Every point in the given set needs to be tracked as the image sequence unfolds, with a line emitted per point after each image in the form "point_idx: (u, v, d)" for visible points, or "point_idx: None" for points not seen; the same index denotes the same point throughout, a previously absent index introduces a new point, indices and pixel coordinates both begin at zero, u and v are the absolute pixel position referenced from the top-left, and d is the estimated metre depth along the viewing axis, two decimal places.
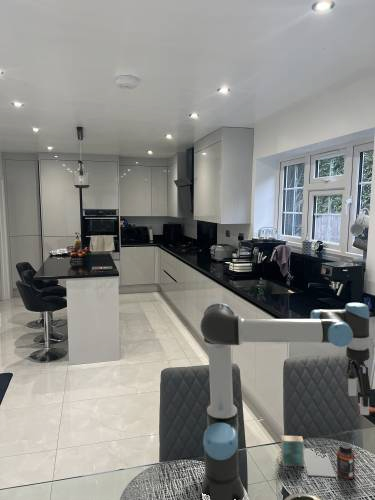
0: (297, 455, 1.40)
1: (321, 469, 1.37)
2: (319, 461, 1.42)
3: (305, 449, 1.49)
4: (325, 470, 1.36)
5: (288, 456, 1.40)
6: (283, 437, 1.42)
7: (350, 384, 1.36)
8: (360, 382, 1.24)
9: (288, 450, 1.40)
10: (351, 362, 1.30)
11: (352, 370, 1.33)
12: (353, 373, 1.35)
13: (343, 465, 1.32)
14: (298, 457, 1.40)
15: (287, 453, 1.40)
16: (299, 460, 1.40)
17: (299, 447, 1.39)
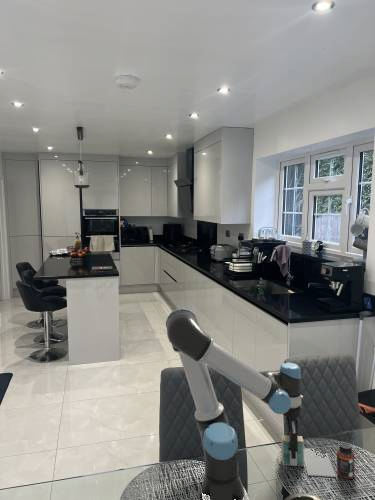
0: (297, 454, 1.40)
1: (321, 469, 1.37)
2: (319, 461, 1.42)
3: (305, 449, 1.49)
4: (325, 470, 1.36)
5: (288, 456, 1.40)
6: (283, 437, 1.42)
7: None
8: None
9: (288, 450, 1.40)
10: (286, 416, 1.42)
11: (289, 428, 1.43)
12: None
13: (343, 465, 1.32)
14: (298, 457, 1.40)
15: (287, 453, 1.40)
16: (299, 460, 1.40)
17: (299, 447, 1.39)
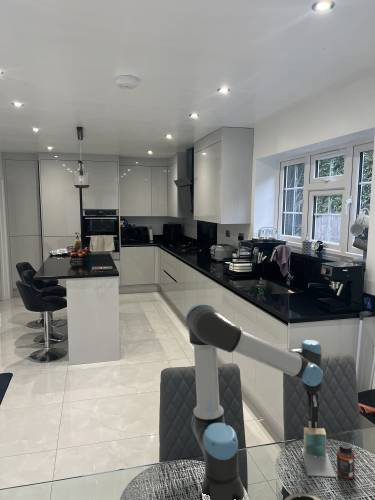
0: (319, 446, 1.44)
1: (321, 469, 1.37)
2: (319, 461, 1.42)
3: None
4: (325, 470, 1.36)
5: (310, 447, 1.45)
6: (306, 429, 1.46)
7: None
8: (311, 410, 1.46)
9: (311, 442, 1.44)
10: (306, 391, 1.49)
11: None
12: None
13: (343, 465, 1.32)
14: (320, 448, 1.44)
15: (310, 444, 1.44)
16: (321, 451, 1.44)
17: (322, 439, 1.43)
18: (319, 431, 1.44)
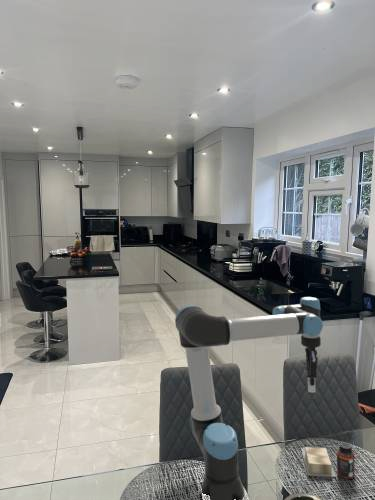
0: None
1: None
2: None
3: None
4: None
5: None
6: (311, 467, 1.35)
7: None
8: (309, 366, 1.46)
9: None
10: (305, 348, 1.49)
11: None
12: None
13: (343, 465, 1.32)
14: None
15: None
16: None
17: None
18: (325, 469, 1.35)
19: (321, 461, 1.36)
